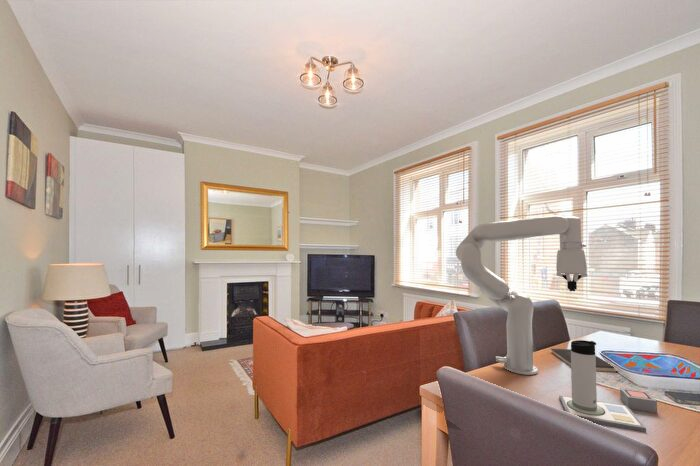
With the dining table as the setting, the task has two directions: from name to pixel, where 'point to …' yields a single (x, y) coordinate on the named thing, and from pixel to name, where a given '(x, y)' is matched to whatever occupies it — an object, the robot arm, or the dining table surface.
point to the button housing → (638, 401)
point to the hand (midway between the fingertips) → (572, 290)
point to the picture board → (606, 414)
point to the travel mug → (583, 375)
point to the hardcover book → (566, 357)
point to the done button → (637, 394)
